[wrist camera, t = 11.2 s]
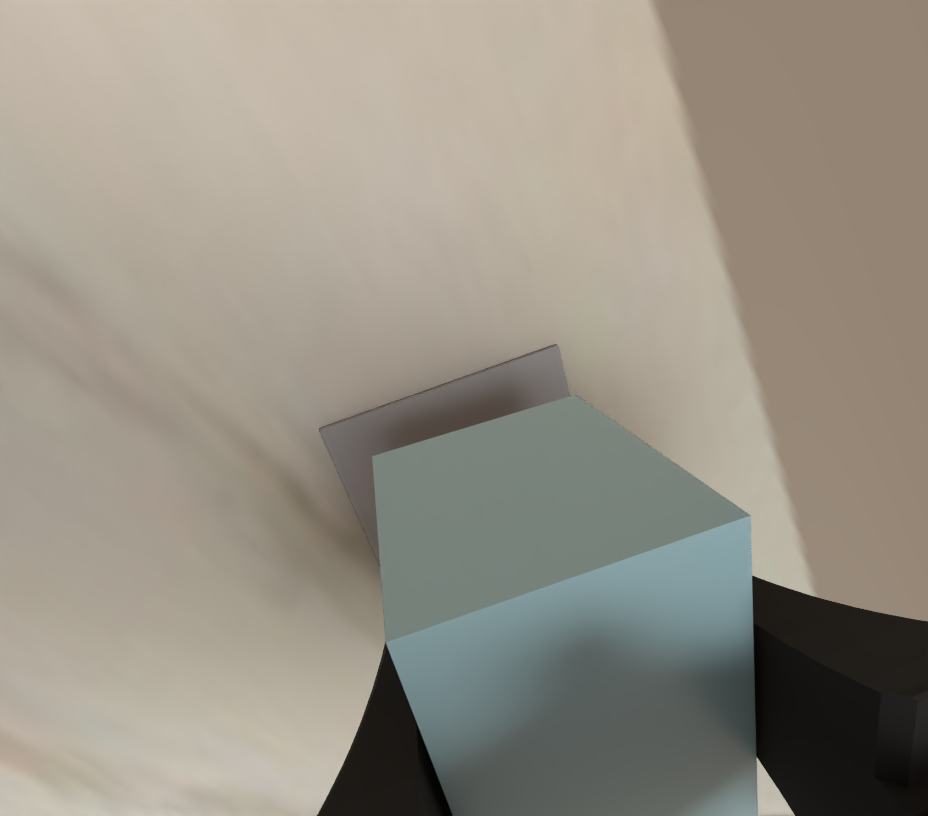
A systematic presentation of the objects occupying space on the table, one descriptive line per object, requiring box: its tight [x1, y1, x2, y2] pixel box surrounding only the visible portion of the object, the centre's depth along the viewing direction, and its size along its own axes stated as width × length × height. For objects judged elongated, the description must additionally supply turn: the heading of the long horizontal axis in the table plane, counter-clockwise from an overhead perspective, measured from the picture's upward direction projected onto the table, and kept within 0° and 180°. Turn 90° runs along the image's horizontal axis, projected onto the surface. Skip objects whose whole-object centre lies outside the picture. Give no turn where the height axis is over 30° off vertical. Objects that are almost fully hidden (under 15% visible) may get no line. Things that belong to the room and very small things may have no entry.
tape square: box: [319, 344, 570, 566], centre depth 19 cm, size 9×9×1 cm
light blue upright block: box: [372, 395, 758, 816], centre depth 12 cm, size 9×6×7 cm
